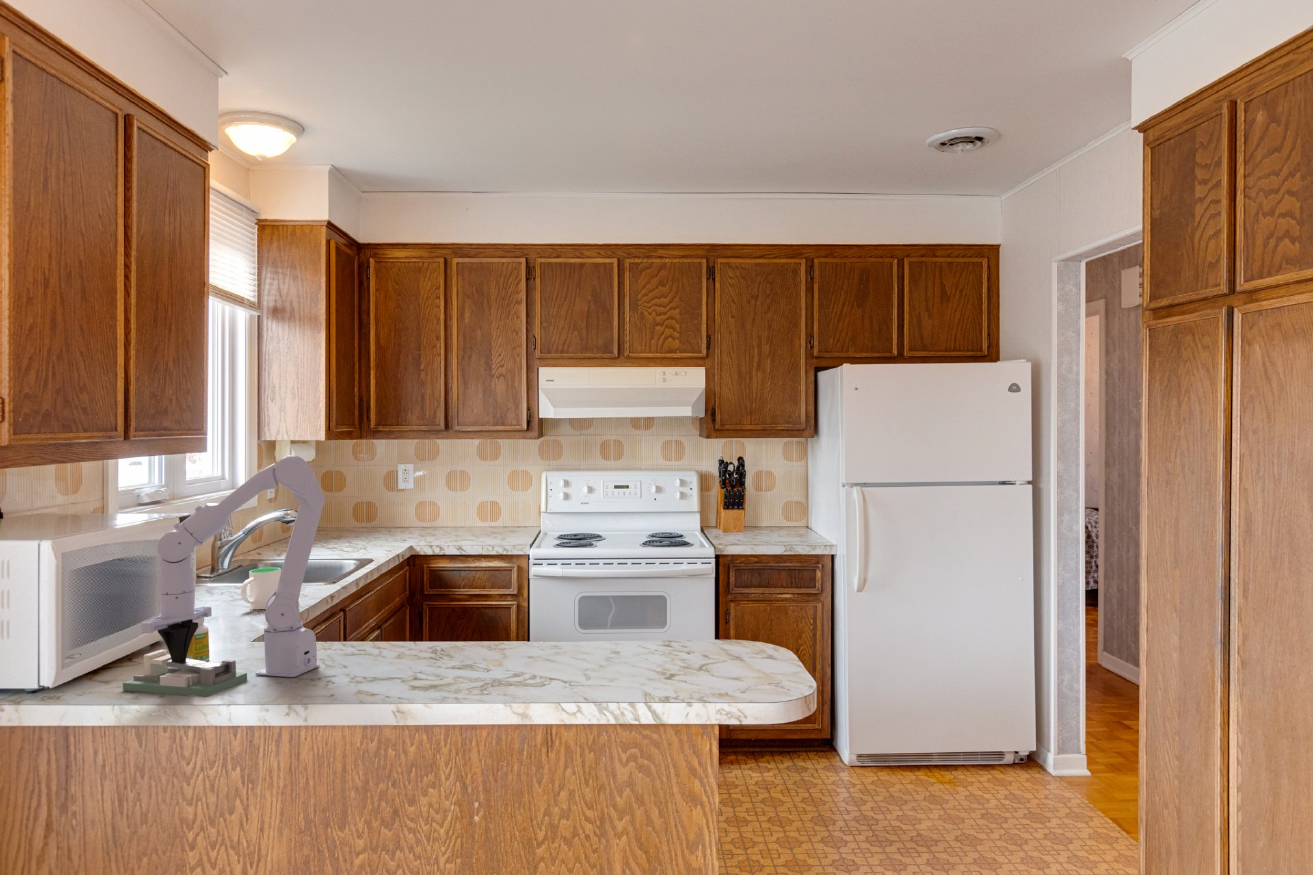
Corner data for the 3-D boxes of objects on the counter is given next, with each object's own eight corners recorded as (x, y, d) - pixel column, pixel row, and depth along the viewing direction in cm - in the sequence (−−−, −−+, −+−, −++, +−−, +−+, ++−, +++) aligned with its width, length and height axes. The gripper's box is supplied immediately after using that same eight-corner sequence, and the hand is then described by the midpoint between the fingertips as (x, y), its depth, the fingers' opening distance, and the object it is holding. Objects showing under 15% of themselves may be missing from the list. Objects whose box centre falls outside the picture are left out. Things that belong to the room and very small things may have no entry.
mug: (256, 613, 224) (255, 575, 224) (232, 612, 227) (231, 574, 226) (288, 604, 236) (286, 567, 236) (265, 603, 238) (263, 567, 238)
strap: (229, 672, 160) (229, 663, 160) (214, 677, 157) (214, 668, 157) (180, 663, 164) (180, 654, 163) (164, 668, 160) (165, 659, 160)
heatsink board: (247, 680, 163) (246, 657, 163) (206, 697, 153) (205, 673, 153) (167, 674, 169) (166, 652, 169) (123, 690, 159) (122, 667, 159)
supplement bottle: (196, 665, 175) (195, 620, 174) (174, 665, 176) (173, 619, 176) (215, 658, 180) (213, 614, 180) (193, 658, 181) (192, 614, 181)
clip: (179, 673, 164) (178, 650, 164) (162, 679, 160) (161, 656, 160) (162, 671, 165) (161, 649, 165) (144, 678, 161) (143, 655, 161)
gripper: (191, 584, 169) (193, 650, 169) (127, 598, 155) (129, 670, 155) (219, 585, 167) (220, 652, 167) (157, 600, 153) (159, 673, 153)
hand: (178, 661), depth 161 cm, fingers closed, pressing on strap
